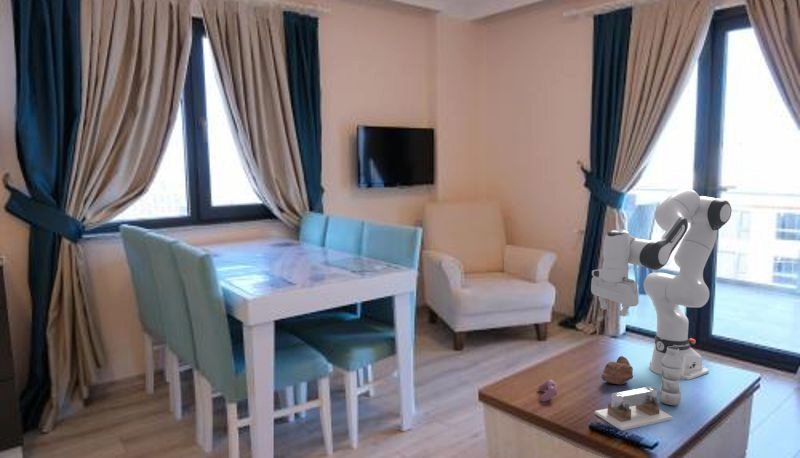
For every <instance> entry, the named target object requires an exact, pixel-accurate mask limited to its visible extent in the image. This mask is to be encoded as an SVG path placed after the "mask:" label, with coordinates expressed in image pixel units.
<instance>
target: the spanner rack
mask: <svg viewBox="0 0 800 458" xmlns="http://www.w3.org/2000/svg"><path fill="white" fill-rule="evenodd" d="M660 407H661V403H659V398H654V403H647V404H642V405H637V406H632V407H629V404H625V408H623V409H614V408H612V407H611V400H610V402H609V403H607V408H602V409H598V410H594V414H595V415H596V416H598V417H599V418H601V419H603V420H604V421H605V422H608V423H609V424H610V425H612V426H613V427H615V428H617V429H618V428H619V429H618V430H620V429H621V430H622V431H626V430H630V429H635V428H640V427H645V426H649V425H654V424H658V423H662V422H667V421H670V420H671V421H672V420H673V419H674V418H673V416H672V415H670V414H668V413H667V412H665V411H663V410H662V409H661V408H660ZM621 430H620V431H621Z"/></svg>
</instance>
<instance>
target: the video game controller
mask: <svg viewBox="0 0 800 458" xmlns="http://www.w3.org/2000/svg"><path fill="white" fill-rule="evenodd" d="M537 389H538V391H539V392H544V393H543V394H541V395H540V396H539V397H540V398H539V400H540V401H541V402H548V401H550V400H551V399H553V398H554V397H555V396H558V388H557V382H556V381H555V380H554V379H550V378H549V379H547V380H546V381H545V382H544V383H542V384H540V385H539V387H538V388H537Z"/></svg>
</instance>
